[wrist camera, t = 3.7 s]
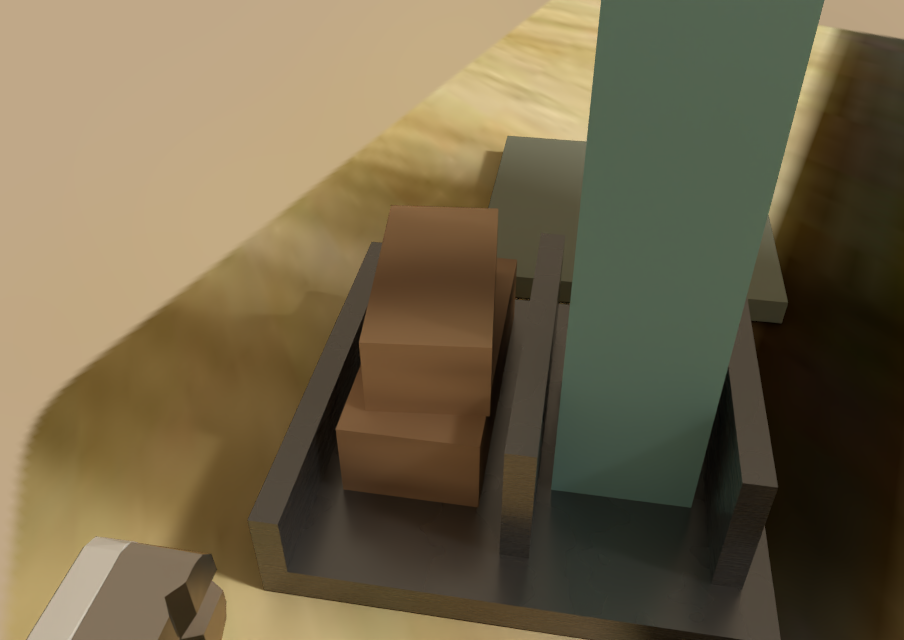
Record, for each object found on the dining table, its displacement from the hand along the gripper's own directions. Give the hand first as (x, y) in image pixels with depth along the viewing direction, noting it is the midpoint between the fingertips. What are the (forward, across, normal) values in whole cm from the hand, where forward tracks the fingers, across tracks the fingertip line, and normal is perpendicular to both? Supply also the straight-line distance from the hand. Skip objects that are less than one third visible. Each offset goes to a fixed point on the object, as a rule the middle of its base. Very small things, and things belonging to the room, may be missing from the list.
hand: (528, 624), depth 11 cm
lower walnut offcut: (+14, +4, +10) cm, 18 cm away
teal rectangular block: (+13, -2, +10) cm, 17 cm away
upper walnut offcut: (+14, +4, +8) cm, 17 cm away
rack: (+13, +1, +11) cm, 17 cm away
